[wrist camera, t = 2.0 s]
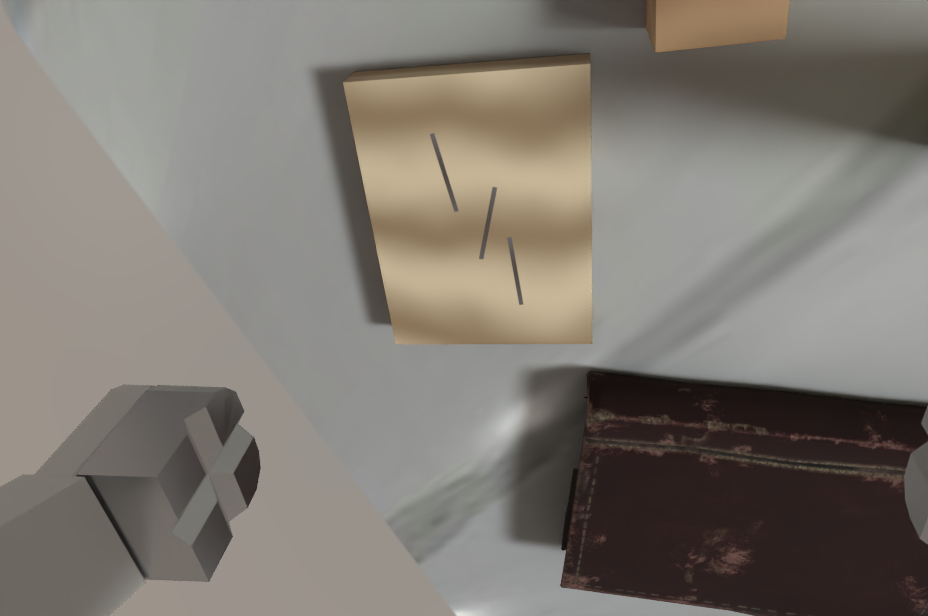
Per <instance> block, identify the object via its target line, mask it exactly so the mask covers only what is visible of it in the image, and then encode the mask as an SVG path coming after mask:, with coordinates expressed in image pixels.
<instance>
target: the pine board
mask: <svg viewBox="0 0 928 616" xmlns="http://www.w3.org/2000/svg"><path fill="white" fill-rule="evenodd" d="M343 86H344V91H345V95H346V100H347V105H348V110H349V115H350V120H351V125H352V130H353V135H354V140H355V145H356V150H357V155H358V160H359V165H360V170H361V175H362V180H363V185H364V190H365V194H366V199H367V204H368V209H369V214H370V219H371V224H372V229H373V234H374V239H375V244H376V249H377V254H378V259H379V264H380V269H381V274H382V279H383V284H384V289H385V293H386V298H387V303H388V308H389V313H390V318H391V323H392V328H393V333H394V338H395V343H396V344H592V222H591V82H590V53H589V54H577V55H564V56H551V57H539V58H526V59H513V60H500V61H488V62H475V63H462V64H449V65H437V66H424V67H411V68H399V69H386V70H373V71H360V72H354V73H353V74H351V75H350V76H349V77H348V78H347V79H346V80H345V81H344V82H343Z"/></svg>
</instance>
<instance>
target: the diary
mask: <svg viewBox="0 0 928 616" xmlns="http://www.w3.org/2000/svg"><path fill="white" fill-rule="evenodd" d="M587 391H588V396H587V397H584V398H587V417H586V424H585V430H584V435H583V443H582V450H581V456H580V463H579V469H574V470H573V476H572V482H571V488H570V494H569V501H568V506H567V510H566V516H565V523H564V531H563V538H562V547H561V549H562V550H566V555H565V561H564V567H563V574H562V580H561V584H560V586H561V587H563V588H571V589H578V590H585V591H592V592H600V593H607V594H614V595H621V596H629V597H636V598H643V599H650V600H657V601H665V602H672V603H679V604H686V605H694V606H701V607H708V608H715V609H722V610H730V611H735V612H740V613H744V614H749V615H754V616H928V544H926V543H925V542H924V541H922V540H921V539H920V538H919V536H918V534H917V532H916V530H915V527H914V525H913V523H912V521H911V519H910V516H909V512H908V508H907V505H906V501H905V483H904V475H905V471H906V468H907V465H908V461H909V458H910V454H911V453H912V452H913V451H915V450H916V449H918V448H919V447H920V446H922V445H923V444H925V443H926V442H928V434H927V433H926V431H925V429H924V428H923V426H922V424H921V422H922V420H923V417H924V414H925V411H926V409H927V407H919V406H907V405H896V404H885V403H877V402H868V401H860V400H852V399H843V398H835V397H826V396H818V395H810V394H801V393H793V392H784V391H773V390H761V389H749V388H738V387H726V386H714V385H702V384H690V383H682V382H674V381H666V380H658V379H650V378H642V377H634V376H626V375H618V374H610V373H602V372H592V371H589V372H588V373H587Z"/></svg>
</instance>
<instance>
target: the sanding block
mask: <svg viewBox="0 0 928 616" xmlns="http://www.w3.org/2000/svg"><path fill="white" fill-rule="evenodd" d="M789 4H790V0H646V29H647V32H648V34H649V37H650V40H651V42H652V45H653V47H654V50H655V53H657V52H666V51H676V50H685V49H695V48H704V47H713V46H723V45H732V44H742V43H751V42H761V41H770V40H779V39H786V31H787V22H788V13H789Z"/></svg>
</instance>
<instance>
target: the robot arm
mask: <svg viewBox="0 0 928 616" xmlns="http://www.w3.org/2000/svg"><path fill="white" fill-rule="evenodd" d="M243 413H244V410H243V407H242V405H241V403H240V400H239V398H238V396H237V393H236V392H235V391H233V390H230V389H228V388H226V387H198V386H170V385H157V386H151V385H122V386H119V387H116V388H114V389H111V390H110V391H109V392H108V394H107V395H106V396H105V397H104V398H103V399H102V400H101V402H100V403H98V405H97V406H96V407H95V408H94V409H93V410H92V411H91V412H90V413H89V415H88V416H87V417H86V418H85V419H84V420H83V421H82V422H81V424H80V425H79V426H78V427H77V428H76V429H75V430H74V431H73V432H72V433H71V434H70V436H69V437H68V438H67V439H66V440H65V441H64V442H63V443H62V444H61V446H60V447H59V448H58V449H57V450H56V451H55V452H54V453H53V454H52V455H51V457H50V458H49V459H48V460H47V461H46V462H45V463H44V464H43V466H42V467H41V468H40V469H39V470H38V471H37V472H36V473H35V474H34V475H21V476H19V477H17V478H16V479H14V480H12V481H10V482H8V483H6V484H5V485H3V486H1V487H0V616H109V615H110V614H111V613H113V612H114V611H115V610H116V609H117V608H118V607H119V606H121V605H122V604H123V603H124V602H125V601H126V600H127V599H128V598H130V597H131V596H132V595H133V594H134V593H135V592H136V591H137V590H139V589H140V588H141V587H142V586H143V585H144V584H145V583H146V582H145V580H144V579H148V580H174V581H202V582H209V581H210V579H211V577H212V575H213V573H214V571H215V569H216V567H217V565H218V564H219V562H220V560H221V558H222V556H223V554H224V552H225V550H226V548H227V546H228V545H229V543H230V541H231V539H232V537H233V536H232V532H231V528H230V524H229V521H230V520H232V519H233V518H234V517H236V516H237V515H238V514H240V513H241V512H243V511H244V510H245V509H247V508H248V506H249V504H250V502H251V500H252V498H253V495H254V493H255V491H256V489H257V483H258V478H259V473H260V459H259V450H258V447H257V445H256V442H255V439H254V437H253V436H252V435H251V434H249V432H247V431H246V430H245V429H244V428H243V427H241V426H240V425H239V424H238V423H239V421H240V419H241V417H242V415H243ZM921 424H922V426H923V428H924V429H925V431H926V433H927V434H928V406H927V409H926V411H925V414H924V417H923V420H922V422H921ZM904 483H905V501H906V505H907V508H908V512H909V516H910V519H911V521H912V523H913V525H914V527H915V530H916V532H917V534H918V536H919V538H920V539H921V540H922V541H924V542H925V543H926V544H928V442H926V443H925V444H923V445H922V446H920V447H919V448H918V449H916V450H915V451H913V452H912V453H911V454H910V458H909V461H908V465H907V468H906V471H905V475H904Z"/></svg>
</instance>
